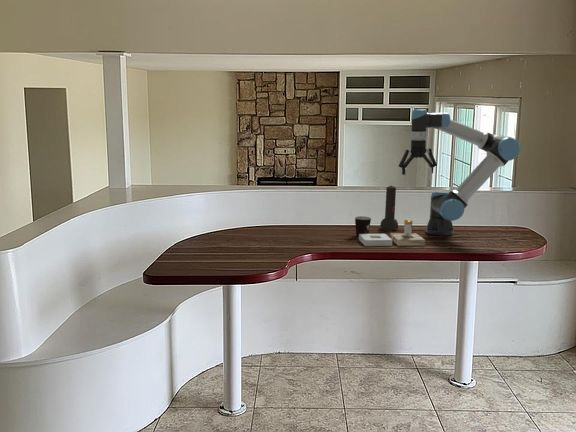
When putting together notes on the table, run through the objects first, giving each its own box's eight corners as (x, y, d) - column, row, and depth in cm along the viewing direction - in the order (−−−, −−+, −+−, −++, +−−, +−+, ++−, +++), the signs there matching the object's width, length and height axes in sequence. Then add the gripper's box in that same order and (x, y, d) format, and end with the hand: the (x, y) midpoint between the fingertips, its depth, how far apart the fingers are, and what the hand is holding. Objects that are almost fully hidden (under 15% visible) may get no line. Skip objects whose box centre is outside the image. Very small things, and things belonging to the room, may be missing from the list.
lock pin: (402, 241, 332) (403, 219, 329) (409, 241, 332) (410, 219, 330) (404, 243, 328) (405, 221, 326) (412, 243, 328) (413, 221, 326)
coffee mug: (360, 238, 336) (360, 220, 334) (351, 235, 344) (351, 217, 342) (378, 236, 341) (378, 218, 339) (368, 233, 349) (369, 215, 347)
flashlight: (376, 228, 362) (387, 231, 353) (378, 184, 357) (390, 187, 348) (390, 226, 367) (401, 230, 358) (392, 183, 362) (404, 186, 353)
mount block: (358, 239, 334) (358, 233, 333) (384, 239, 336) (385, 233, 335) (364, 246, 320) (365, 240, 320) (392, 245, 322) (392, 240, 321)
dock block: (390, 239, 336) (390, 233, 335) (415, 238, 338) (416, 233, 337) (397, 245, 322) (398, 239, 322) (424, 245, 324) (424, 239, 323)
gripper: (398, 140, 323) (397, 182, 327) (444, 139, 327) (442, 180, 331) (393, 139, 330) (392, 180, 334) (438, 138, 334) (437, 178, 339)
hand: (417, 180), depth 333 cm, fingers open, 13 cm apart
